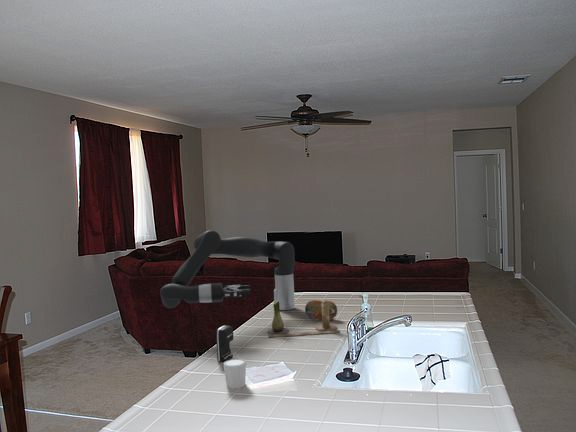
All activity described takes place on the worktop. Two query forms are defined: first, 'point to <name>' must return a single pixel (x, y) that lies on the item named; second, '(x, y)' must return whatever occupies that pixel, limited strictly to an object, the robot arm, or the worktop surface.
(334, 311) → the tin
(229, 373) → the white cup
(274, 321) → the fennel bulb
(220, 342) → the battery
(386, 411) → the worktop surface
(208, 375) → the worktop surface
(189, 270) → the robot arm
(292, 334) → the brown long irregular piece
